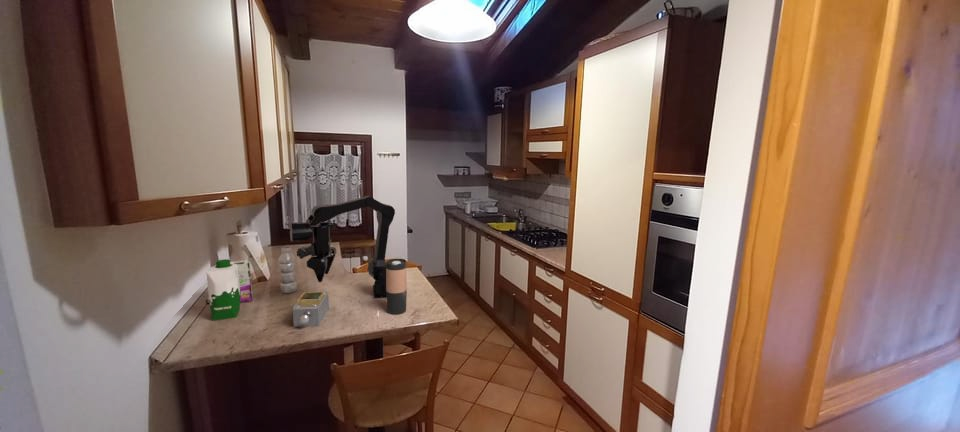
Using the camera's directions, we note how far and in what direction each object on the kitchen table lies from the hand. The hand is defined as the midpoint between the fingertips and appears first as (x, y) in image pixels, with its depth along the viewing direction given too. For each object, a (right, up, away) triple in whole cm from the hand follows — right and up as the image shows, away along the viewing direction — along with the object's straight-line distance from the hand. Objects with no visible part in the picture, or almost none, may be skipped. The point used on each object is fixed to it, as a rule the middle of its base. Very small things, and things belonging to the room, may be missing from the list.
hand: (323, 277), depth 130 cm
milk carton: (-32, -13, -7) cm, 35 cm away
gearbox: (0, -13, -8) cm, 16 cm away
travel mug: (+28, -13, 0) cm, 31 cm away
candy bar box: (-38, -11, +5) cm, 39 cm away
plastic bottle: (-22, -9, +16) cm, 29 cm away
